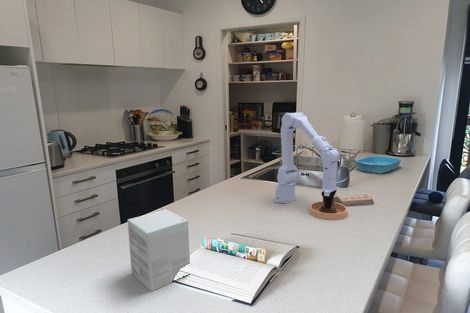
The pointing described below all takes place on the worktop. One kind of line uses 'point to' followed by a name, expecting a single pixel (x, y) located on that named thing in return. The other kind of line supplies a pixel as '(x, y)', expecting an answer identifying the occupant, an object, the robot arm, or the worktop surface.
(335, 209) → the hinged hatch frame
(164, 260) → the supplement box
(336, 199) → the packaged product
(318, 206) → the orange round shallow bowl
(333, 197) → the wood hatch door
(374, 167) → the casserole dish
